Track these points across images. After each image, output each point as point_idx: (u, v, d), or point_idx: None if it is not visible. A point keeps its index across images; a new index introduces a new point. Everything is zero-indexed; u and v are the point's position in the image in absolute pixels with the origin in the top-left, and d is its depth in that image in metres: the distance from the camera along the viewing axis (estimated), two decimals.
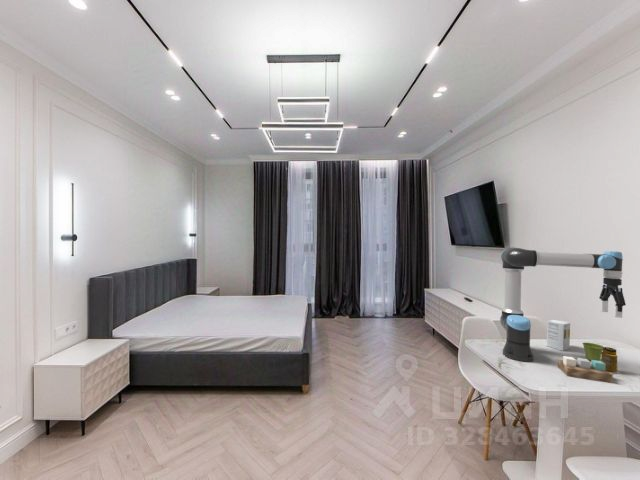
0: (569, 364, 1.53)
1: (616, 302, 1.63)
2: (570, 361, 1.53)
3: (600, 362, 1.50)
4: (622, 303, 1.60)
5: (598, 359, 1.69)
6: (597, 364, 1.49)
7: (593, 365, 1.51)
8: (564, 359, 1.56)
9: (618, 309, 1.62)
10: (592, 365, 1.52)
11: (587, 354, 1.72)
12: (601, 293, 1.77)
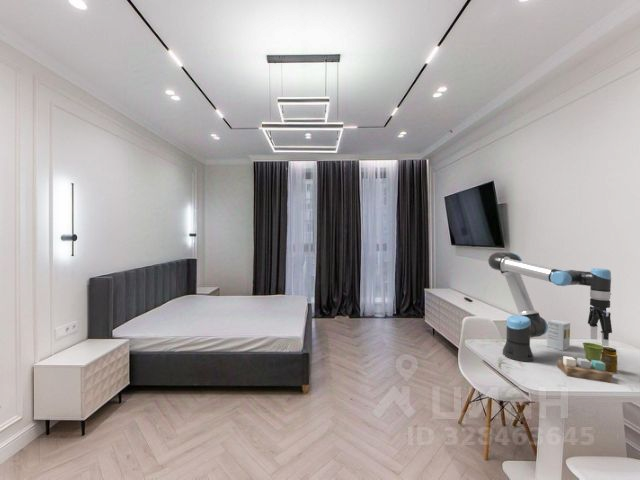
0: (569, 364, 1.53)
1: (602, 328, 1.46)
2: (570, 361, 1.53)
3: (600, 362, 1.50)
4: (608, 330, 1.43)
5: (598, 359, 1.69)
6: (597, 364, 1.49)
7: (593, 365, 1.51)
8: (564, 359, 1.56)
9: (604, 336, 1.45)
10: (592, 365, 1.52)
11: (587, 354, 1.72)
12: (589, 317, 1.57)
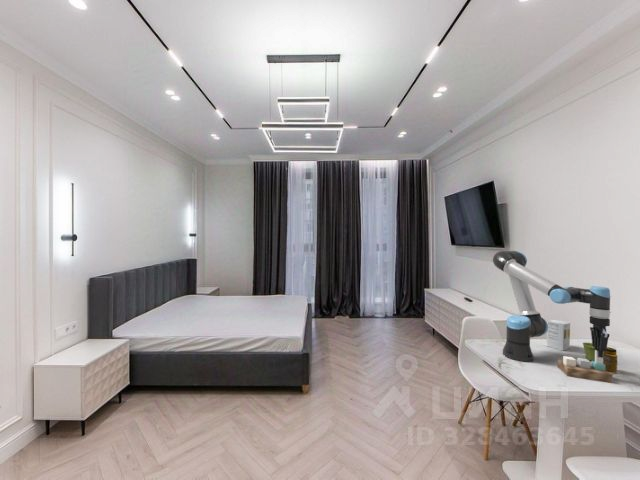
0: (569, 364, 1.53)
1: (597, 346, 1.49)
2: (570, 361, 1.53)
3: None
4: (603, 349, 1.47)
5: None
6: (597, 365, 1.49)
7: (593, 366, 1.51)
8: (564, 359, 1.56)
9: (598, 354, 1.49)
10: (592, 366, 1.52)
11: (587, 354, 1.72)
12: (592, 338, 1.54)
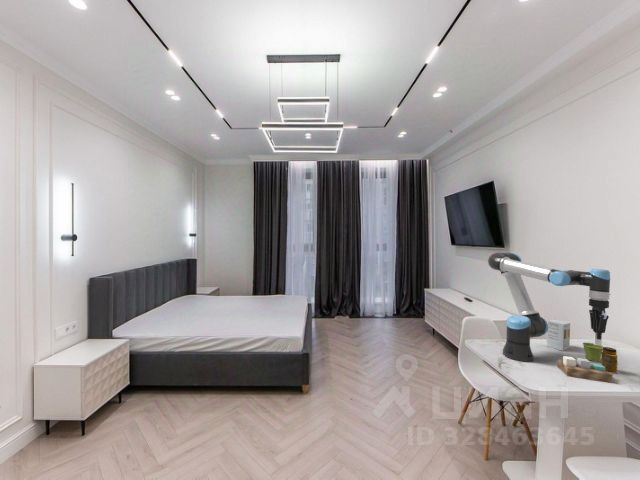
0: (569, 364, 1.53)
1: (596, 328, 1.50)
2: (570, 361, 1.53)
3: (600, 365, 1.50)
4: (601, 331, 1.47)
5: (598, 359, 1.69)
6: (597, 368, 1.49)
7: (593, 368, 1.51)
8: (564, 359, 1.56)
9: (597, 336, 1.50)
10: None
11: (587, 354, 1.72)
12: (591, 321, 1.55)
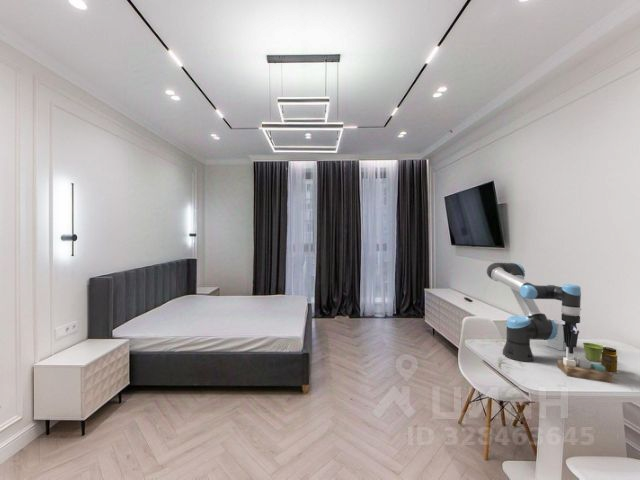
0: (569, 365, 1.53)
1: (568, 343, 1.53)
2: (570, 362, 1.53)
3: (600, 365, 1.50)
4: (573, 346, 1.51)
5: (598, 359, 1.69)
6: (597, 368, 1.49)
7: (593, 368, 1.51)
8: (564, 360, 1.56)
9: (569, 350, 1.53)
10: None
11: (587, 354, 1.72)
12: (564, 335, 1.58)
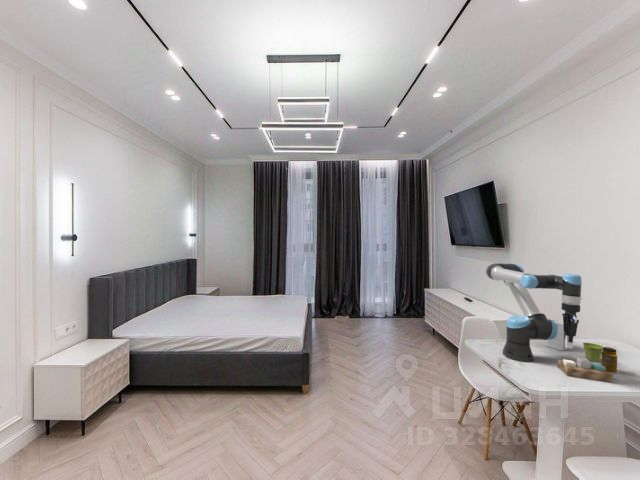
0: None
1: (568, 332, 1.54)
2: (570, 365, 1.53)
3: (600, 365, 1.50)
4: (572, 334, 1.51)
5: (598, 359, 1.69)
6: (597, 368, 1.49)
7: (593, 368, 1.51)
8: (564, 362, 1.56)
9: (569, 339, 1.54)
10: None
11: (587, 354, 1.72)
12: (564, 324, 1.59)
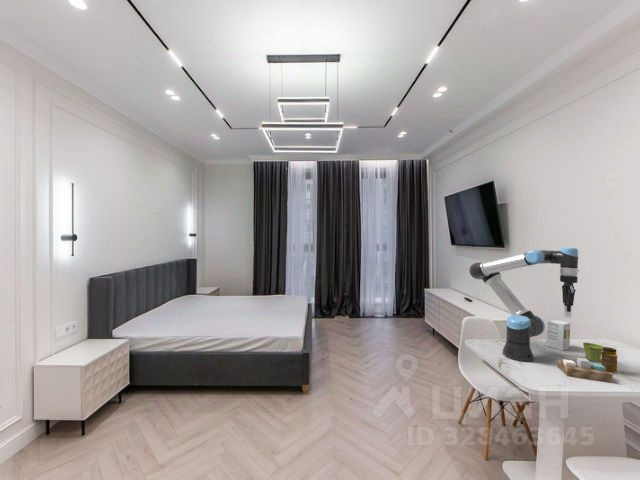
0: None
1: (566, 302, 1.63)
2: (570, 365, 1.53)
3: (600, 365, 1.50)
4: (570, 304, 1.61)
5: (598, 359, 1.69)
6: (597, 368, 1.49)
7: (593, 368, 1.51)
8: (564, 362, 1.56)
9: (567, 309, 1.63)
10: None
11: (587, 354, 1.72)
12: (563, 296, 1.68)
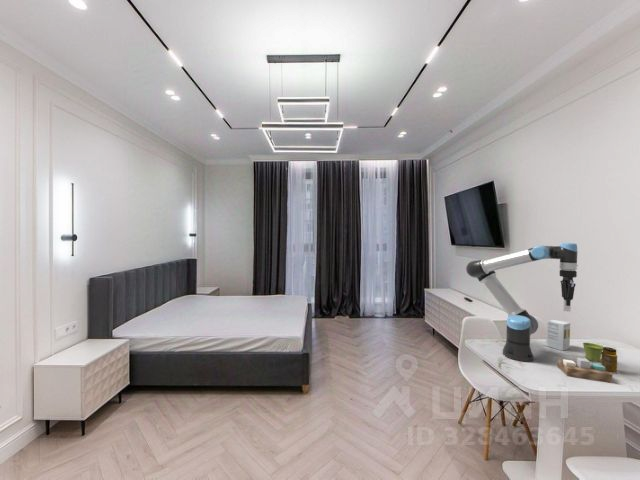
0: None
1: (565, 296, 1.67)
2: (570, 365, 1.53)
3: (600, 365, 1.50)
4: (570, 298, 1.64)
5: (598, 359, 1.69)
6: (597, 368, 1.49)
7: (593, 368, 1.51)
8: (564, 362, 1.56)
9: (566, 303, 1.67)
10: None
11: (587, 354, 1.72)
12: (562, 290, 1.72)
